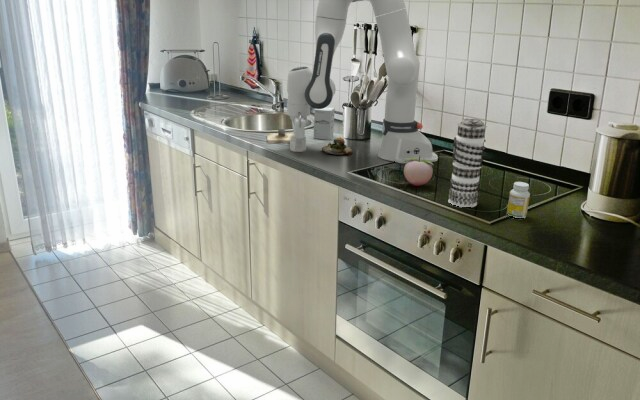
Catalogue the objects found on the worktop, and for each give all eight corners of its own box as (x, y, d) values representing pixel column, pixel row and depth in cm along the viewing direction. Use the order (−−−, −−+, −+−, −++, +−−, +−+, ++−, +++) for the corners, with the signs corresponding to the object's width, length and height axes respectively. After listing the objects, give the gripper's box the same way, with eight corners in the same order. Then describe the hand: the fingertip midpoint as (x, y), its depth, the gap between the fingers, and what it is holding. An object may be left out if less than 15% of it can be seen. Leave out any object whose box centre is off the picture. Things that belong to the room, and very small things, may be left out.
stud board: (295, 136, 240) (295, 126, 239) (296, 143, 229) (296, 133, 228) (267, 136, 239) (267, 126, 238) (267, 143, 228) (267, 133, 227)
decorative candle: (446, 196, 173) (454, 116, 164) (476, 198, 172) (487, 118, 163) (447, 206, 165) (456, 122, 156) (479, 209, 163) (491, 124, 155)
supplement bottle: (515, 220, 156) (520, 187, 152) (502, 213, 160) (507, 182, 157) (530, 218, 158) (535, 185, 154) (517, 211, 162) (522, 180, 159)
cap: (305, 147, 223) (305, 135, 221) (306, 151, 217) (306, 139, 216) (290, 147, 222) (290, 135, 221) (290, 151, 217) (290, 139, 215)
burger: (315, 151, 219) (316, 133, 216) (339, 147, 225) (340, 129, 223) (335, 159, 210) (335, 139, 207) (358, 154, 217) (359, 135, 214)
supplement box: (313, 138, 237) (313, 109, 233) (317, 134, 244) (318, 105, 239) (330, 140, 235) (331, 110, 231) (333, 136, 242) (335, 107, 238)
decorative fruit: (402, 189, 178) (404, 159, 174) (402, 181, 186) (404, 152, 182) (432, 191, 177) (435, 161, 173) (431, 183, 184) (434, 154, 181)
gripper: (308, 115, 205) (308, 152, 210) (305, 105, 224) (304, 139, 229) (291, 115, 204) (291, 152, 209) (289, 105, 224) (289, 139, 228)
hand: (298, 145), depth 219 cm, fingers closed on cap, 6 cm apart
